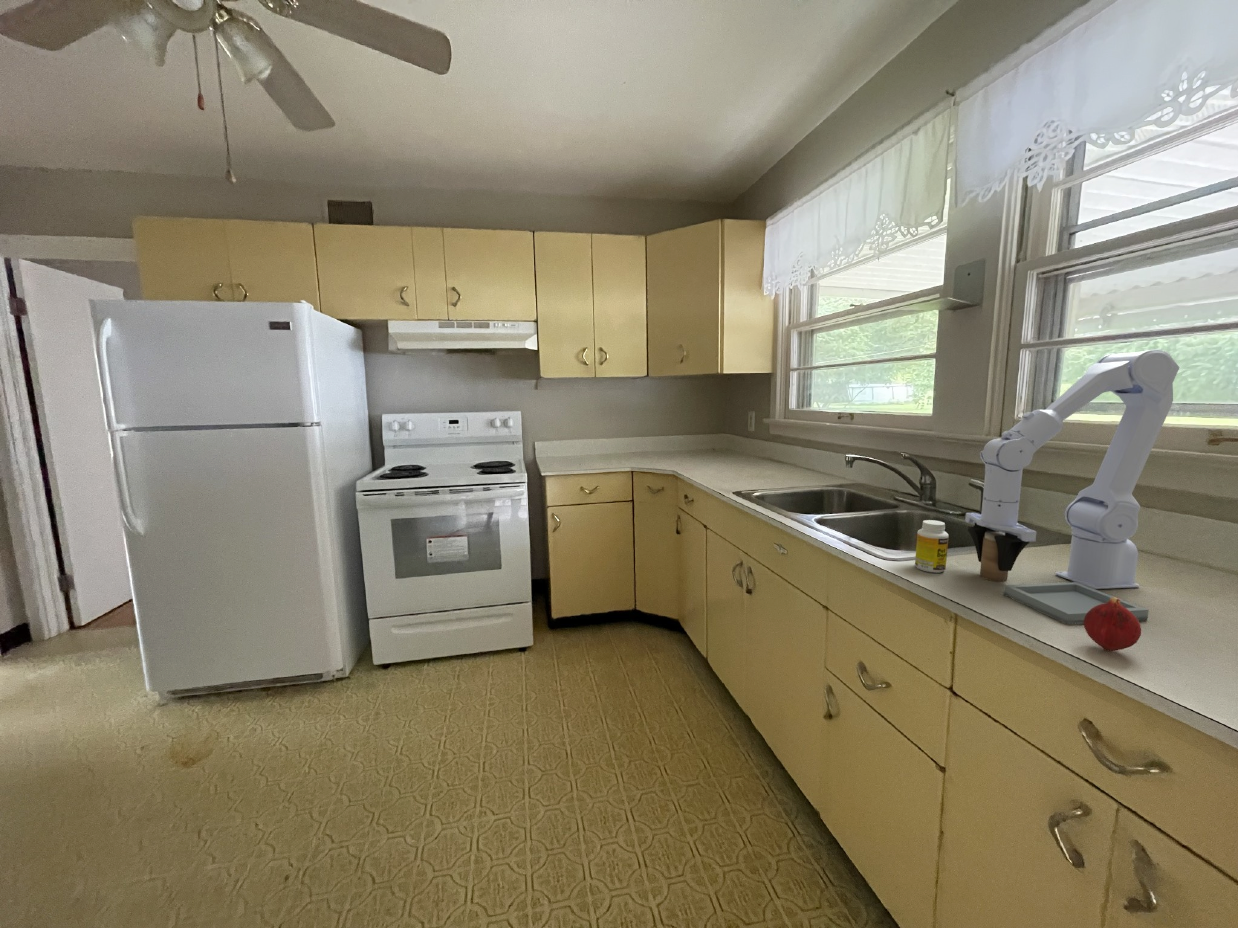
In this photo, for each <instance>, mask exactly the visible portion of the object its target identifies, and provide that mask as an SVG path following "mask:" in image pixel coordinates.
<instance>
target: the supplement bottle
mask: <svg viewBox="0 0 1238 928" xmlns="http://www.w3.org/2000/svg"><path fill="white" fill-rule="evenodd" d="M945 529H946V524H945V522H943V521H941V520H934V519H933V520H932V519H926V520H923V521H922V526H921V528H920V529H918V530H917V532H916V533H917V535H916V546H915V558H914V559H915V562H914V566H915V568H917V569H918V570H921V571H923V572H928V573H933V574H934V573H937V574H938V573H943V572H945V571H946V569H947V561H948V560H947V557H948V546H949V537H950V536H949V533H948V532H947V531H945Z"/></svg>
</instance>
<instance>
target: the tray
mask: <svg viewBox="0 0 1238 928" xmlns="http://www.w3.org/2000/svg"><path fill="white" fill-rule="evenodd" d="M1003 595H1004V596H1006V597H1008V598H1010V599H1012V600H1014V601H1016V602H1018V603H1020V604H1022V605H1025V606H1027V607H1029V608H1032V609H1034V610H1036V611H1037V612H1039V613H1042V614H1044V615H1046V616H1048V617H1050V618H1052V619H1055V620H1056V621H1059V622H1061V623H1063V624H1065V625H1084V622H1083V621H1084V618H1085V615H1086V614H1087V612H1088V611H1090V610H1091V609H1092V608H1093V607H1095V606H1097V605H1100V604H1105V603H1108V602H1109V601H1110V598H1113V597H1114V596H1113V595H1111V594H1108V593H1105V592H1103V591H1100V590H1099V589H1093V588H1090V587H1087V586H1084V585H1082V584H1079V583H1077V582H1074V581H1071V582H1047V583H1046V582H1045V583H1026V584H1024V583H1022V584H1005V585H1004V589H1003ZM1117 598H1118V599H1119V600H1121V601H1120V604H1121V605H1122V606H1123V607H1125V608H1126V609H1128V610H1129V611H1130V612H1131V613H1132V614H1133V615H1134V616H1135V617H1136V618H1137V620H1138V621H1140V622H1141V621H1142V622H1143V621H1148V618H1149V612H1150V611H1149V609H1147V608H1145V607H1142V606H1140V605H1137V604H1134V603H1132V602H1129V601H1126V600H1124V599H1121V598H1119V597H1117Z"/></svg>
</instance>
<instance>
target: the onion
mask: <svg viewBox="0 0 1238 928" xmlns="http://www.w3.org/2000/svg"><path fill="white" fill-rule="evenodd" d="M1118 598H1119V597H1116V596H1113V598H1110V601H1109V602H1108V603H1105V604H1100V605H1097V606H1095V607H1093V608H1092V609H1091V610H1090V611H1088V612H1087V614H1086V615H1085V618H1084V621H1083V622H1084V624H1083V628H1084V630H1085V632H1086V633H1087V636H1088V637H1089V638H1090V639H1091V640H1092V641H1093V643H1096V645H1097V646H1099V647H1101V648H1102V649H1103V650H1104V651H1107V652H1115V651H1120V650H1124V649H1128V648H1131V647H1132V646H1134V645H1135V644H1137V643H1138V641H1139V640H1140V638H1141V636H1142V626H1141V623H1140V622H1139V621H1138V620H1137V618H1136V617H1135V616H1134V615H1133V614H1132V613H1131V612H1130V611H1129V610H1128V609H1126V608H1125V607H1123V606H1122V605H1121V604H1120V601H1121V600H1122V599H1121V600H1119V599H1120V598H1119V599H1118Z"/></svg>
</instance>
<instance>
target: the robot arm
mask: <svg viewBox="0 0 1238 928" xmlns="http://www.w3.org/2000/svg"><path fill="white" fill-rule="evenodd" d="M1179 370H1180V366H1179V364H1177V362H1176V361H1175V359H1174V358H1173V357H1172V355H1171V354H1169V352H1167V351H1165V350H1162V349H1149V350H1145V351H1135V352H1124V353H1123V352H1122V353H1118V352H1114V353H1109V354H1106V355H1103V356H1102V357H1101V358H1099V359H1098V360H1097V361H1096V362H1094V363H1093V364H1091V365H1090V366H1088V367H1087V369H1086V371H1085V373H1084V374H1083V375H1082V376H1081V377H1080V378H1079V379H1078V380H1077V381H1075V383H1073V384H1072V385H1071V386H1070V387H1069V388H1068V389H1067V390H1065V391H1064V392H1063V393H1062V394H1061V395H1060V396H1059V397H1058V398H1057V399H1056V400H1055V401H1053V402H1052V403H1051V404H1050V405H1049V406H1048V407H1046V408H1045V409H1035V410H1032V411H1026V412H1025V413H1024V414H1023V415H1021V416H1022V419H1021V420H1020V421H1019V422H1018V423H1016V424H1015V425H1014V426H1012V427H1011V428H1010V429H1009V430H1005V431H1003V432H1002V433H1001V437H1000V438H994V439H991V440H990V441H988V442H987V443H986V444H985V445H984V447H983V449H982V450H981V451H979V457H980V460H981V461H982V462H983V464H984V481H983V482H984V483H983V494H982V501H981V502H982V504H981V512H980V513H981V514H980V513H976V512H966V513H965V519H964V522H966V523H968V524H974V525H973V526H968V527H967V531H968V533H969V534H970V537H971V539H972V540H973V544H974V546H975V552H976V555H977V560H978V562H979V563H981V557H982V547H983V537H985V532H1000V533H1005V536H1004V535H997V536H994V538H995V541H996V544H997V548H998V568H999V570H1000V571H1008V572H1011V571H1012V570H1013V567H1014V565H1015V563H1016V560H1017V559H1018V557H1019V555H1020V554H1021V552H1022V551H1023V550H1024V549H1025V547H1026V546H1028V545H1029V543H1030V542H1036V539H1037V530H1034V529H1030V528H1029V527H1027V526H1025V525H1022V524H1021V523H1018V520H1019V508H1020V501H1021V500H1020V499H1021V497H1020V496H1021V489H1022V480H1023V479H1022V478H1023V469H1024V468H1025V467H1028V466H1029V465H1031V462H1032V460H1033V457H1034V454H1035V453H1036V452H1037V451H1039V449H1040V448H1041V447H1043V446H1044V445H1046V444H1047V443H1048V442H1049V441H1050V440H1052V439H1053V438H1055V436H1057V435H1058V434H1059V433H1060V432H1062V430H1063V427H1064V426H1063V425H1064V421H1065V420H1066V419H1068V418H1069V417H1071V416H1072V415H1073V414H1075V413H1077V412H1078V411H1079V410H1080V409H1082V408H1083V407H1085V406H1086V405H1087V404H1089V403H1091V402H1092V401H1093V400H1095V399H1097V398H1098V397H1099V396H1101V395H1102V394H1104V393H1107V392H1111V393H1112V394H1114V395H1116V396H1117V397H1119V399H1120V400H1121V401H1122V402H1123V404H1124V405H1125V409H1124V411H1123V414H1122V416H1121V418H1120V420H1119V423H1118V425H1117V428H1116V430H1115V432H1114V434H1113V437H1112V439H1111V441H1110V443H1109V446H1108V448H1107V451H1106V453H1105V455H1104V458H1103V459H1102V462H1101V465H1100V467H1099V468H1098V471H1097V473H1096V476H1095V479H1094V481H1093V483H1092V484H1091V485H1089V486H1087V487H1085V488H1084V489H1082V490H1081V489H1080V490H1079V492H1078V493H1077V495H1076V497H1075V499H1074V500H1072V501H1071V502H1070V503H1069V504H1068V505H1067V507H1066V508H1065V511H1064V519H1065V521H1066V523H1067V524H1068V525H1069V526H1070V532H1071V541H1070V550H1069V556H1068V557H1069V558H1068V566H1067V571H1055V572H1054V575H1056V576H1059V577H1060V578H1064V579H1066V580H1069V581H1071V582H1077V583H1079V584H1082V585H1084V586H1087V587H1090V588H1092V589H1095V590H1102V589H1103V590H1104V589H1105V590H1106V589H1121V588H1123V589H1125V588H1127V589H1128V588H1139V587H1140V584H1139V583H1136V582H1135V581H1136V575H1137V574H1136V573H1137V567H1138V566H1137V565H1138V559H1139V553H1138V552H1139V551H1138V547H1137V546H1136V545H1135V543H1134V542H1133V541H1132V540H1131V538H1132V537H1133V536H1134V535H1135V534H1136V532H1137V531H1138V528H1139V518H1138V517H1139V516H1138V515H1139V513H1140V510H1141V505H1140V504H1139V502H1138V501H1137V500H1136V498H1135V497H1134V495H1133V492H1134V490H1135V487H1136V485H1137V482H1138V480H1139V479H1140V476H1141V475H1142V472H1143V470H1144V467H1145V465H1146V463H1147V460H1148V458H1149V456H1150V454H1151V452H1152V450H1153V448H1154V445H1155V444H1156V441H1157V439H1158V436H1159V434H1160V432H1161V430H1162V428H1163V425H1164V423H1165V421H1166V418H1167V416H1168V414H1169V411H1170V410H1171V407H1172V404H1173V402H1174V386H1173V385H1174V384H1173V383H1174V381H1175V379H1176V376H1177V375H1178V372H1179Z"/></svg>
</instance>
